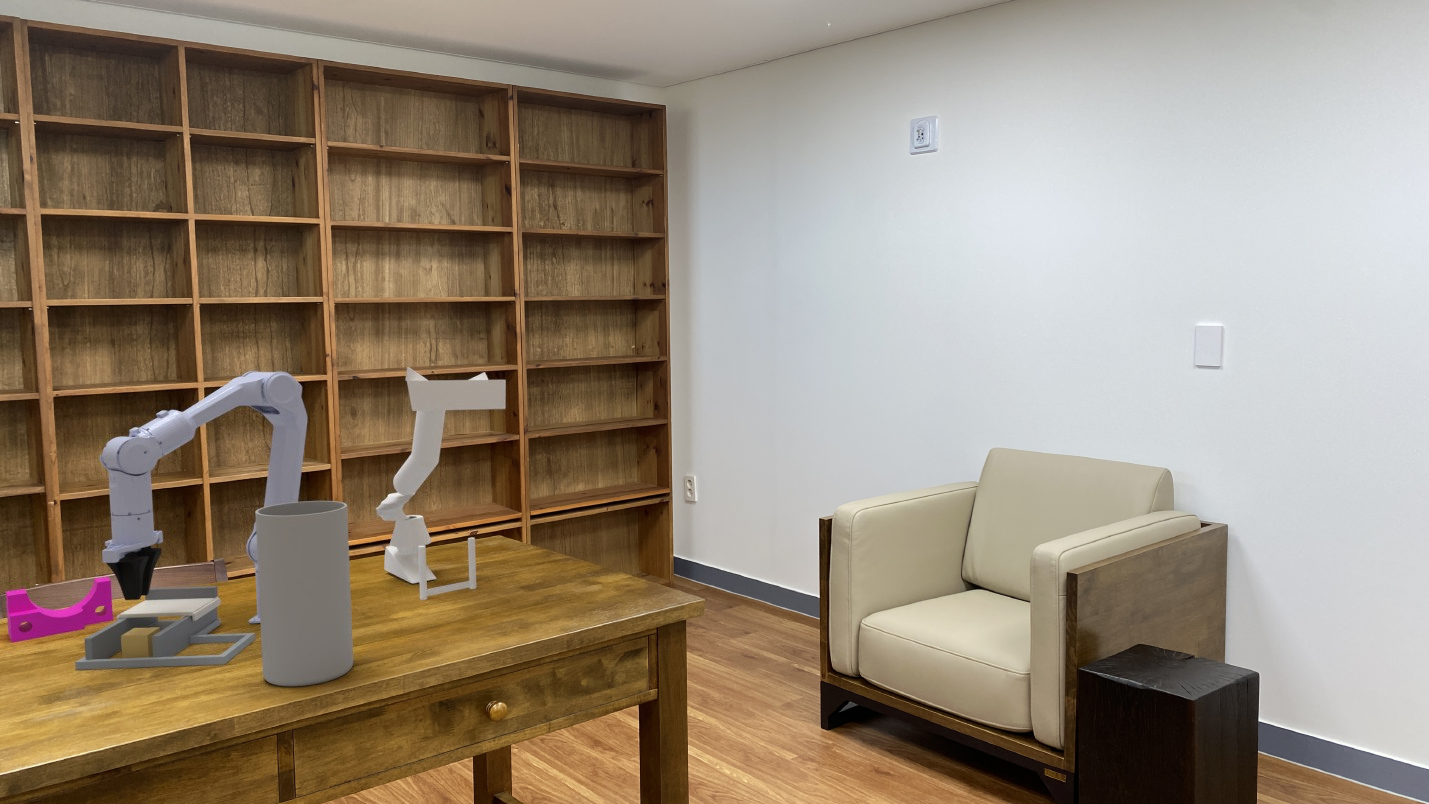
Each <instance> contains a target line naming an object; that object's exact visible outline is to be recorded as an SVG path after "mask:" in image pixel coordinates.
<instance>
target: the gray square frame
mask: <svg viewBox="0 0 1429 804" xmlns="http://www.w3.org/2000/svg"><path fill="white" fill-rule="evenodd" d="M221 622H222V621H221V618H218V606H217V607H216V608H214V609H213V610H211V611H210V612H208V613H207V614H205V615H204V616H202V617H200V618H199V619H197V620H196V621H193V618H192V616H182V617H181V618H179V619H163V620H162V619H161V620H159V617H136V618H121V619H119V620H118V621H117V620H116V621H115V622H112V623H111V624H109V625H107V626H104V627H103V628H101V629H99V630H98V631H96V632H93V633H92V634H90V635H88V636H87V637H84V640H83V641H84V653H85V654H84V655H85V656H83V657H82V658H79V659H78V660H77V661H74V667H75V671H78V670H79V671H80V670H84V671H85V670H104V669H105V670H106V669H107V670H108V669H133V668H134V669H137V668H157V667H158V668H161V667H162V668H163V667H186V666H187V667H189V666H190V667H192V666H193V667H194V666H213V665H214V666H216V665H218V666H219V665H226V664H227V663H228V662H230V661H231V660H232V659H233V658H235V657H236V656H237V655H238V654H240V652H242V651H243V650H245V648H246V647H248V646H249V645H250V644H252V643H253V642H254V641H255V640H256V633H255V632H250V633H249V632H247V633H245V632H242V633H216V634H215V633H214V634H213V633H211V634H209V633H210V632H212V631H214V629H216V628H218V627H219V626H221ZM153 627H160V632H158V633H157V634H155V635H154V636H152V642H153V657H148V658H122V657H121V658H110V657H112V656H114V655H115V654H117V653H119V652H121V651H122V646H121V635H123V634H125V633H127V632H128V631H130V630H132V629H134V628H153ZM221 643H222V644H223V643H234V644H232V645H231V646H230V647H229V648H227V649H226V650H225V651H224V652H222V653H221V654H209V655H205V654H204V655H203V654H202V655H180V656H179V655H178V656H176V654H178V653H179V652H182V650H184V649H185V648H187V647H188V646H190V645H200V644H221Z"/></svg>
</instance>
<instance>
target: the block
mask: <svg viewBox="0 0 1429 804" xmlns="http://www.w3.org/2000/svg"><path fill="white" fill-rule="evenodd" d="M158 632H160V627H153V628H134V629H132V630H130V631H128V632H127V633H125V634H123V635H121V646H122V650H121V658H148V657H153V642H152V636H154V635H155V634H157V633H158Z"/></svg>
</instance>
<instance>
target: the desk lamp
mask: <svg viewBox="0 0 1429 804" xmlns="http://www.w3.org/2000/svg"><path fill="white" fill-rule="evenodd" d="M405 382H406V383H407V384H406V385H407V388H408V390H407V391H408V395H409V400H410V406H411V407H410V408H411V411H413V412H416V414H415V422H414V429H413V439H412V447H411V453H410V455H409V456H408V458H407V459H406V460H405V462H404V463H403V464H402V465H401V467H400V468H399V469H398V471H397V473H396V474H395V475H394V477H393V479H392V480H393V483H392V484H393V488H394V490H395V492H393V493H389V494H387V497H386V498H385V499H384V500H382V501H381V502H380V504H379V505H378V506H377V507H375V510H376V515H377V516H378V517H381V520H382V521H384V522H385V521H386V522H395V525H394V528H393V531H392V534H391V535H392V536H391V539H390V543H389V545H388V546H385V552H384V565H383V566H384V567H383V570H385V571H386V572H389V573H390V574H392V575H394V576H396V577H398V578H400V579H403V581H406V582H408V583H411V584H417V583H419V599H420V601H424V600H428V596H434V595H438V594H443V593H449V592H452V591H453V592H454V591H458V590H463V589H469V590H475V589H477V565H476V563H477V562H476V538H475V537H468V538H467V545H468V546H467V547H468V548H467V549H468V551H467V553H468V580H467V581H461V582H456V583H452V584H447V585H440V586H436V587H431V588H428V582H427V581H432V580H436V579H437V577H436V576H435V574H434V573H433V572H432V570H431V568H429V566H428V564H427V552H426V545H429V544H431V543H432V539H431V537H430V534H429V531H428V528H427V526H426V523H425V519H424V516H423V515H419V514H411V515H410V514H409V515H408V514H405V512H404V511H403V508H404V506H405V504H406V503H408V502H409V501H410V499H411V498H412V497H413V496H415V495H416V492H417V491H418V489H419V488H420V487H421V486H422V484H423V483H424V481H426V479H427V478H428V477H429V476H430V474H431V473H432V472H433V470H434V469H435V468H436V467H437V465H438V464H439V461H440V454H441V447H442V439H443V431H444V425H445V418H446V411H470V410H473V411H474V410H506V397H507V396H506V395H507V394H506V391H507V390H506V388H507V385H506V383H507V382H506V379H489V378H488V375H487V374H486V372H485V371H484V372H481V373H480V374H478V375H476V376H474V377H471V378H469V379H454V380H450V379H449V380H447V379H446V380H441V379H440V380H438V379H435V380H432V379H431V380H429V379H427V378H426V377H424V376H423V375H421V374H420V373H418V372H417V371H415V370H414V369H413V368H411V367H410V366H407V367H406V373H405Z"/></svg>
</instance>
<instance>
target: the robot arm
mask: <svg viewBox="0 0 1429 804" xmlns="http://www.w3.org/2000/svg"><path fill="white" fill-rule="evenodd" d="M302 393H303V386H302V385H301V383H299V381H297V379H296V378H295V377H294V376H293V375H291V374H290V373H289V372H287V371H275V372H274V371H259V370H258V371H256V370H252V371H247V372H245V373H244V374H242V375H241V376H237V377H234V378H232V379H231V380H230V381H228V383H226V384H225V385H222V386H221V387H220V388H219V389H217V390H215V391H214V392H212V393H210V394H209V395H207V396H206V397H204V398H203V399H200V400H199V401H198V402H197V403H195V404H193V405H192V406H190V407H188V408H187V409H185V410H184V411H179V410H176V409H170V410H161V411H159V412H157V413H156V418H155V419H152V420H150V421H148V422H147V423H145V424H143V425H142V426H140V427H137V426H136V427H135V426H134V427H133V428H131V429H129V434H128V436H116V437H114V438H111V440H109V441H107V443H106V444H105V447H104V448H103V449H102V454H101V455H99V461H100V463H101V466H103V467H104V469H106V471H107V473H108V484H109V485H108V489H109V490H108V491H109V492H108V493H109V505H110V506H109V507H110V522H111V526H110V527H111V539H109V540H107V541H105V542H104V546H105V547H106V548H105V549H103V550H101V556H102V563H103V564H106V565H107V566H108V567H109V568H110V570H111V571H112V572H113V574H114V576H115V577H116V580H117V581H118V584H119V588H120V589H121V593H122V595H123V598H124V600H125V601H138V600H140V599H141V598H142V597H143V596H146V595H148V593H149V589H150V588H151V583H152V578H153V575H154V571H155V567H156V566H157V563H158V561H159V558H160V557H161V555H162V548H161V547H152V546H153V545H155V544H156V545H157V544H162V543H163V542H164V537H163V530H155V528H154V527H155V525H154V509H153V507H154V505H153V492H152V491H153V488H152V486H153V485H152V473H151V471H152V470H154V468H155V466H156V465H157V463H158V460H160V459H161V458H163V457H165V456H166V455H168V454H170V453H172V452H173V451H175V450H177V449H178V448H179V447H182V446H184V445H185V444H186V443H189V442H190V441H192V440H193V439H194V437H195V434H196V430H197V429H198V428H199V427H201V426H203V425H204V424H207V423H209V422H211V421H213V420H214V419H216V418H218V417H220V416H222V415H225V413H227V412H230V411H231V410H233V409H235V408H237V407H240V406H241V407H243V406H247V407H250V408H252V409H253V410H255V411H257V412H259V413H261V414H262V415H263V416H264V417H265V419H267V421H269V423H271V424H272V427H273V432H272V437H271V438H272V439H271V445H270V455H269V460H268V461H269V463H268V470H267V478H266V479H267V480H266V487H265V488H266V489H265V494H264V495H265V497H264V503H263V504H264V505H263V508H264V507H267V506H272V505H278V504H284V503H293V502H299V495H300V487H301V479H302V478H301V477H302V471H303V462H304V453H305V446H306V445H305V444H306V435H307V430H308V429H307V427H308V414H307V410H306V407H305V403H304V401H303V398H302ZM245 546H246V547H245V548H246V554H247V556H248V558H249V559H250V560H251V561H252V562H253V564H254V568H255V569H254V571H255V591H256V592H255V593H256V613H257V614H255V615H254V616H253V617H252V618H250V619H249V620H248V624H261V623H260V601H259V580H258V558H257V537H256V520H255V522H254V523H253V529H252V533H251V535H249V538H248V539H247V542H246V545H245Z"/></svg>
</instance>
